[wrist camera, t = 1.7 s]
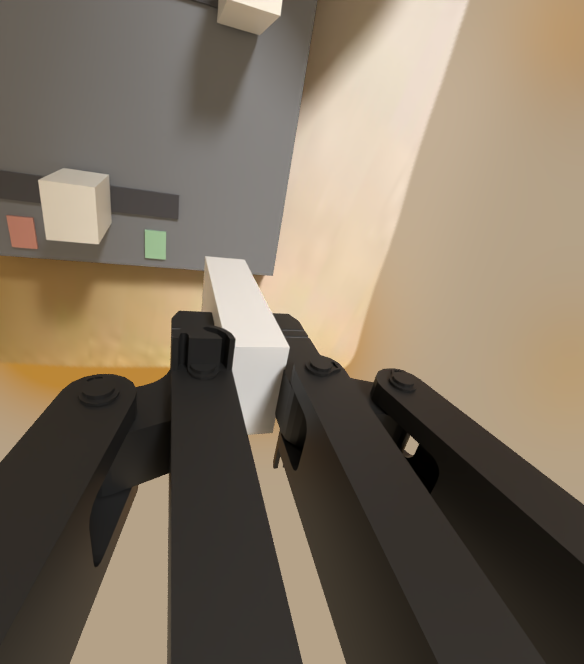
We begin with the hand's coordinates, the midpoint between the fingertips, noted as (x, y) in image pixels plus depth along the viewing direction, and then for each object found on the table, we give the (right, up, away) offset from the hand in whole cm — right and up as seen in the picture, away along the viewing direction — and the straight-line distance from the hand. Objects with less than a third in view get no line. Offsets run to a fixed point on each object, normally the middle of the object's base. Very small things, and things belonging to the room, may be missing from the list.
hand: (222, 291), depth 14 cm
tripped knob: (-10, +7, +9) cm, 15 cm away
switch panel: (-6, +13, +9) cm, 17 cm away
